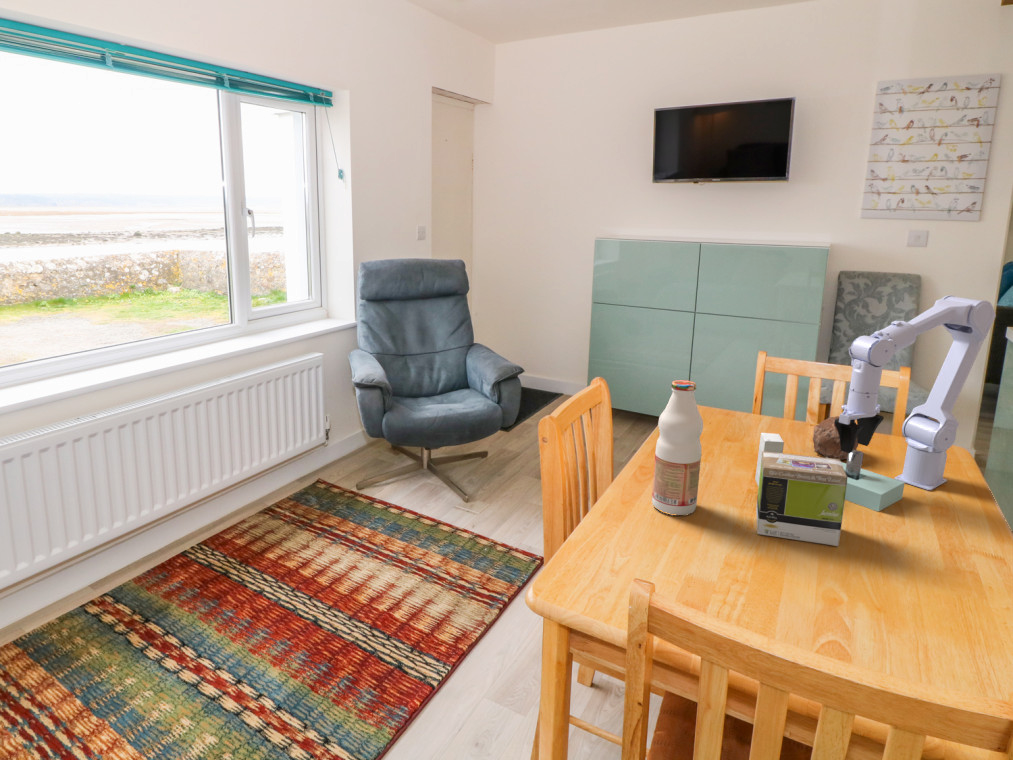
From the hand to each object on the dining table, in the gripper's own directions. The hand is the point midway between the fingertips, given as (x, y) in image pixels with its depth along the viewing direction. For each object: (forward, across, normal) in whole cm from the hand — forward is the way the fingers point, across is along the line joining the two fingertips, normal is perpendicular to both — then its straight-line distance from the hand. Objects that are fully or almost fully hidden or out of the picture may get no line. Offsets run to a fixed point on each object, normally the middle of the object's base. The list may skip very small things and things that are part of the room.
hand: (854, 448), depth 149 cm
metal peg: (+10, 0, 0) cm, 10 cm away
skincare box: (+11, +13, -13) cm, 21 cm away
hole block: (+10, 0, 0) cm, 10 cm away
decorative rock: (+11, -19, -14) cm, 26 cm away
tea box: (+11, +28, +3) cm, 30 cm away
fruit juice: (+11, +40, -18) cm, 45 cm away
